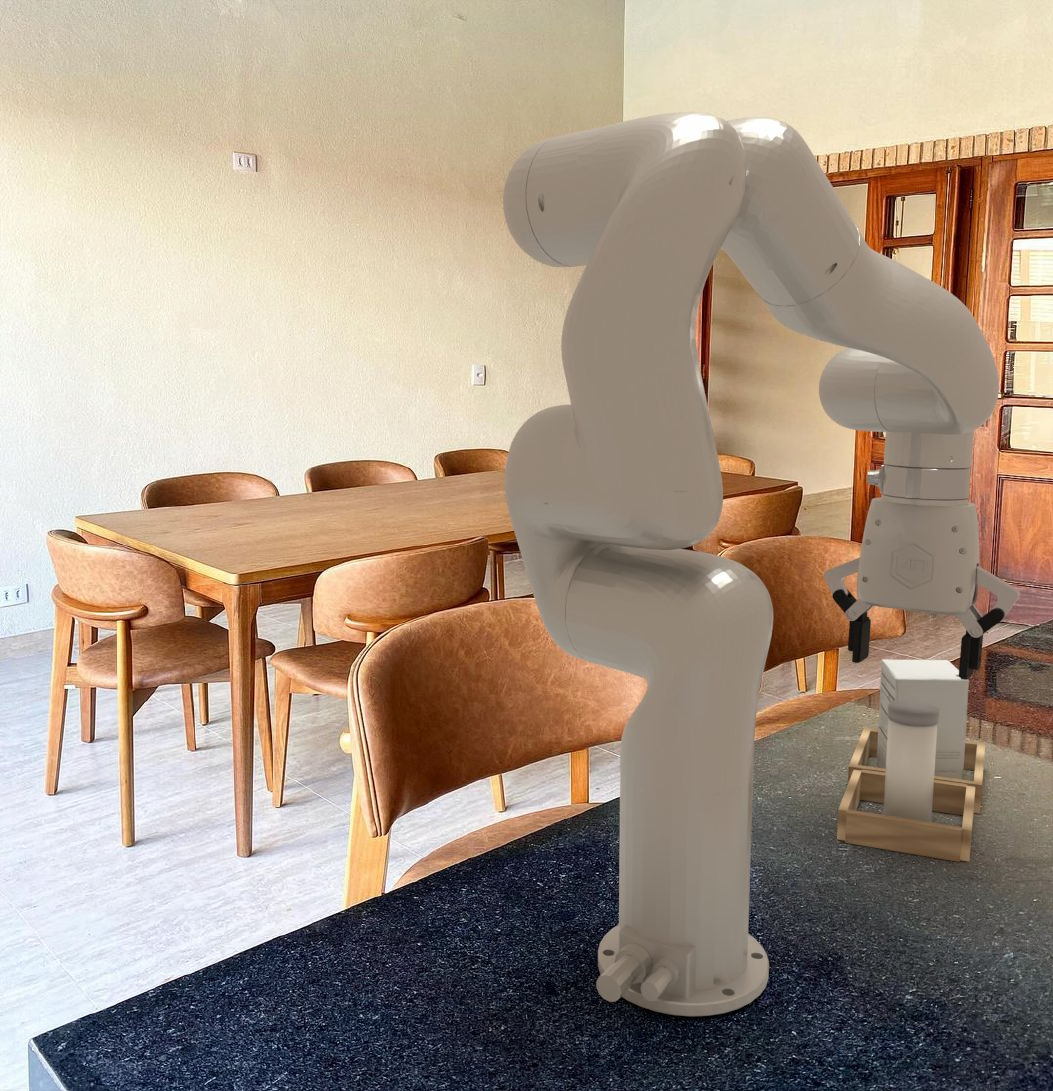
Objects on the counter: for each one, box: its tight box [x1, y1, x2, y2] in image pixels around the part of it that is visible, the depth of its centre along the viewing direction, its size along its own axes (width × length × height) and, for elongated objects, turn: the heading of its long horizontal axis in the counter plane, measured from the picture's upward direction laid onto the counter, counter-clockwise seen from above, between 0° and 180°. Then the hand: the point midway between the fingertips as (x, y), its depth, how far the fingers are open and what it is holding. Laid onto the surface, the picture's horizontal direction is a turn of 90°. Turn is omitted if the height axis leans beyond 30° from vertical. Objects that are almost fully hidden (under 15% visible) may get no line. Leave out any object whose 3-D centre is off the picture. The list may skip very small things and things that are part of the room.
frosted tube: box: [882, 701, 939, 822], centre depth 104 cm, size 5×5×12 cm
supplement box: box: [876, 658, 970, 780], centre depth 115 cm, size 7×7×13 cm
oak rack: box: [836, 727, 986, 863], centre depth 110 cm, size 25×13×3 cm, turn 156°
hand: (911, 668), depth 102 cm, fingers open, 9 cm apart
